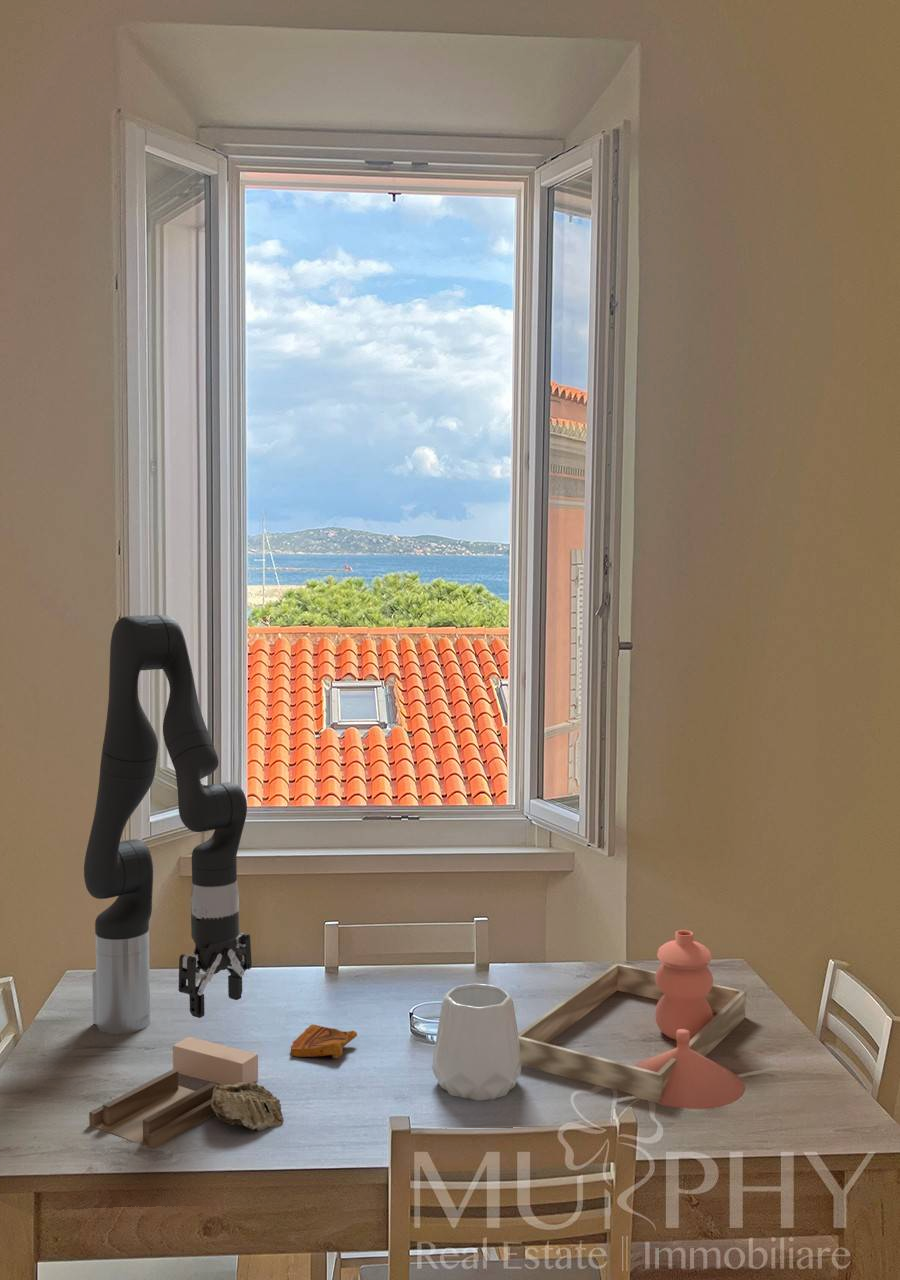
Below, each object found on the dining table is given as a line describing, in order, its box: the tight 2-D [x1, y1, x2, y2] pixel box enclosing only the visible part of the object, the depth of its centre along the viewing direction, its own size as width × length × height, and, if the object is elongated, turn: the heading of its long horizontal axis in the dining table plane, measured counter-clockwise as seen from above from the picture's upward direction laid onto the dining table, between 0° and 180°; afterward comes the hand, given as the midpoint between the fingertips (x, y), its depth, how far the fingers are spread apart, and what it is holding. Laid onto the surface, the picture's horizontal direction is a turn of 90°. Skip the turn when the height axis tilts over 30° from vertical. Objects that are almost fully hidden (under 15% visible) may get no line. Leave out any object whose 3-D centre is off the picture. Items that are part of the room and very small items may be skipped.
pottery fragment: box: [290, 1024, 358, 1059], centre depth 204 cm, size 10×5×10 cm
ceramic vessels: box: [633, 929, 746, 1110], centre depth 198 cm, size 35×21×19 cm, turn 169°
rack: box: [88, 1068, 218, 1149], centre depth 179 cm, size 13×16×4 cm
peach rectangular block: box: [172, 1036, 259, 1085], centre depth 193 cm, size 14×4×5 cm, turn 62°
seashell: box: [211, 1082, 285, 1132], centre depth 177 cm, size 11×7×10 cm
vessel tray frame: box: [518, 963, 747, 1104], centre depth 208 cm, size 26×41×5 cm, turn 148°
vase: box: [431, 983, 522, 1101], centre depth 190 cm, size 14×14×15 cm
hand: (216, 1007), depth 192 cm, fingers open, 8 cm apart
